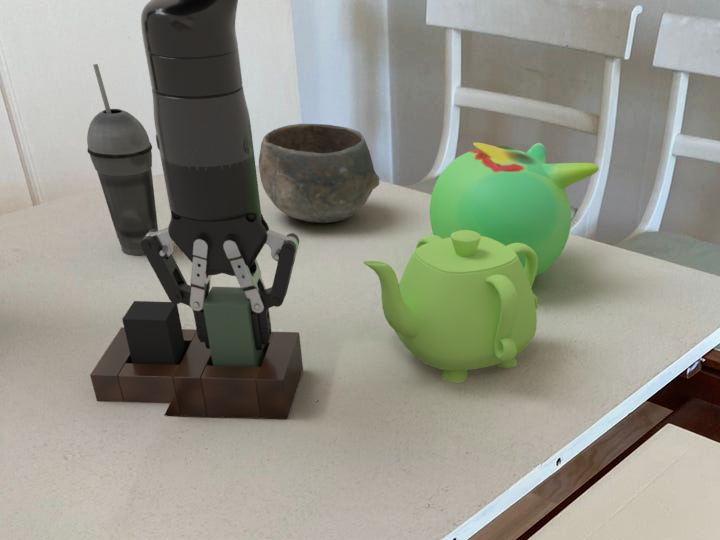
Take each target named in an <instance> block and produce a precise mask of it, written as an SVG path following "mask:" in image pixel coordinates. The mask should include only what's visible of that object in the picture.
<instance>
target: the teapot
mask: <svg viewBox="0 0 720 540" xmlns="http://www.w3.org/2000/svg"><path fill="white" fill-rule="evenodd" d="M519 253H524V254H525V255H526V263H525V269H524V268H523V266H522V264H521V262H520V260H519V258H518V256H517V254H519ZM362 264H364V265H365V266H367V267H369V268H370V269H372V270H373V271H374V272H375V274H376V275H377V276H378V279H379V284H380V289H381V305H382V312H383V314H384V318H385V319H386V322H387V323H388V325H389V326H390V327H391V328H392V329H393V331H394V332H395V334H396V336H397V337H398V339H399V340H400V341H401V343H402V344H403V345H404V346H405V348H406V349H407V350H408V352H409V353H410V354H411V355H412V356H413V357H415V358H417V359H418V360H420V361H421V362H423V363H425V364H426V365H429V366H431V367H433V368H436V369H440V370H443V371H442V376H441V377H442V379H443V380H444V381H446V382H448V383H454V384H456V383H462V382H465V381H466V380H467V379H468V370H469V371H470V370H476V369H483V368H489V367H492V366H496V367H498V368H502V369H509V368H514V367H516V366H517V365H518V360H517V358H516V357H517V356H519V355H520V354H521V353H522V352H523V351H524V350H526V349H527V347H528V345H529V344H530V343H531V342H532V340H533V338H534V337H535V334H536V332H537V323H538V321H537V319H538V318H537V309H538V306H539V300H538V297H537V295H536V294H535V293H534V292H533V289H532V288H533V285H534V282H535V279H536V277H537V276H536V272H537V267H538V259H537V255H536V253H535V252H534V250H533V249H532V248H530V247H529V246H527V245H526V244H523V243H512V244H509V245H507V246H505V245H504V244H502V243H500V242H498V241H496V240H494V239H491V238H488V237H484V236H481V235H480V234H479V233H477V232H474V231H470V230H460V231H456V232H454V233H452V234H451V237H450V238H444V239H442V238H441V237H439V236H437V235H433V234H428V235H425V236H423V237H422V238H420V239H419V240H418V241H417V244H416V246H415V249H414V250H413V252H412V254H411V256H410V257H409V259H408V261H407V263H406V265H405V268H404V270H403V272H402V275H401V277H400V279H399V280H398V276H397V273H396V272H395V270H394V268H393V267H392V266H391V265H390V264H388V263H387V262H383V261H377V260H365V261H363V262H362Z"/></svg>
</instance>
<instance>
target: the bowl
mask: <svg viewBox="0 0 720 540" xmlns="http://www.w3.org/2000/svg"><path fill="white" fill-rule="evenodd" d="M258 171H259V177H260V182H261V184H262V188H263V190H264V192H265V194H266V196H267V197H268V198H269V199H270V201H271V202H272V204H273V205H274V206H275V207H276V208H277V209H278V210H279V211H281V212H283V213H284V214H285V215H286V216H288V217H290V218H293V219H295V220H298V221H304V222H307V223H315V224H316V223H317V224H329V223H337V222H341V221H345V220H346V219H349V218H350V217H351V216H352V215H354V214H355V213H356V212H357V211H358V210H359V209H361V208H362V207H363V206H364V205H365V204H366V203H367V201H368V199H369V197H370V195H371V194H372V192H373V190H374V189H376V188H377V187H379V186H380V176H378V174H377V173H376V171H375V168H374V163H373V160H372V156H371V152H370V149H369V147H368V144H367V142H366V139H365V137H364V135H363V134H362V133H361V132H360V131H358V130H356V129H353V128H350V127H345V126H340V125H332V124H322V123H295V124H288V125H285V126H281V127H278V128H275V129H273V130H271V131H269V132H267V133H266V134H265V135H264V136H263V138H262V141H261V143H260V149H259V157H258Z"/></svg>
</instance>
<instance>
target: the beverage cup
mask: <svg viewBox="0 0 720 540" xmlns="http://www.w3.org/2000/svg"><path fill="white" fill-rule="evenodd" d="M92 66H93V70H94V73H95V78H96V80H97V84H98V87H99V91H100V95H101V98H102V101H103V105H104V110H102V111H100V112H98V113H97V114H96V115H95V116H94V117H93V118H92V119H91V122H90V123H89V127H88V130H87V136H86V142H87V154H89V156H90V160H91V162H92V165H93V167H94V169H95V171H96V172H97V176H98V179H99V182H100V186H101V188H102V192H103V195H104V198H105V203H106V206H107V208H108V212H109V215H110V218H111V221H112V225H113V228H114V231H115V234H116V238H117V239H118V242H119V244H120V247H121V248H120V249H121V251H122V253H124V254H127V255H130V256H146V255H145V253H144V251H143V249H142V248H141V242H142V240H143V238H144V237H145V236H146V234H147V233H148V232H149V231H150V230H151V229H156V230H158V231H159V228H158V227H159V225H158V224H159V223H158V218H157V217H158V216H157V208H156V206H157V205H156V198H155V189H154V180H153V170H152V167H153V153H152V150H153V145H152V143H151V141H150V137H149V134H148V132H147V130H146V128H145V126H143V124H142V123H141V122H140V120H139V119H137V118H136V117H135V116H134V115H132V114H131V113H129V112H128V111H126V110H123V109H121V108H111V107H110V103H109V99H108V96H107V93H106V88H105V85H104V81H103V78H102V74H101V72H100V67H99V64H98V63H94V64H92Z"/></svg>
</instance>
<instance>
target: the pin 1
mask: <svg viewBox="0 0 720 540" xmlns="http://www.w3.org/2000/svg"><path fill="white" fill-rule="evenodd" d="M179 311H180V310H179V306H178V304H174V303H172V302H171V301H148V300H147V301H146V300H134V301H133V302H132V304H131V305H130V306H129V308H128V309H127V311H126V313H125V314H124V316H123V317H122V319H121V320H122V325H123V327H124V329H125V333H126V338H127V342H128V346H129V351H130V355H131V359H132V363H133V364H170V365H180V363H181V361H182V359H183V357H184V355H185V353H186V348H185V343H184V337H183V332H182V329H183V328H182V322H181V316H180V312H179Z"/></svg>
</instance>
